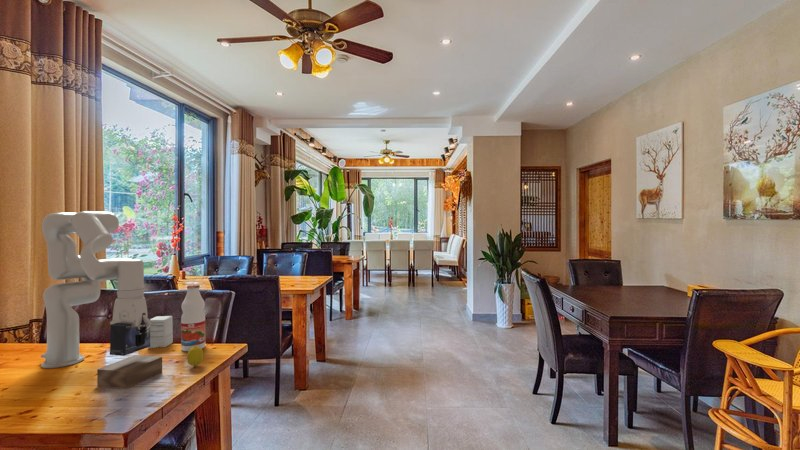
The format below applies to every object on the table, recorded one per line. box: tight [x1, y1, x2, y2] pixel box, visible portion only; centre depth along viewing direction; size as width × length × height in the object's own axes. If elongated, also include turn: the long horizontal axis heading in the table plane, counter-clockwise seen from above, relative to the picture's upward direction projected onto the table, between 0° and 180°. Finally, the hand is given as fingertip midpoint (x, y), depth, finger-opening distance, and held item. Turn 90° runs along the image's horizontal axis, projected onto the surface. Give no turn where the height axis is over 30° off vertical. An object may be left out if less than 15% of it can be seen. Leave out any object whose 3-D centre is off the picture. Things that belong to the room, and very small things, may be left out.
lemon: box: [186, 346, 204, 368], centre depth 140 cm, size 6×6×8 cm
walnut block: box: [96, 354, 163, 390], centre depth 129 cm, size 12×14×6 cm
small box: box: [109, 318, 151, 357], centre depth 129 cm, size 11×6×10 cm, turn 169°
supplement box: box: [147, 315, 174, 349], centre depth 166 cm, size 7×7×13 cm
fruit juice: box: [180, 283, 206, 352], centre depth 162 cm, size 9×9×28 cm
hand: (131, 344), depth 129 cm, fingers closed on small box, 6 cm apart
